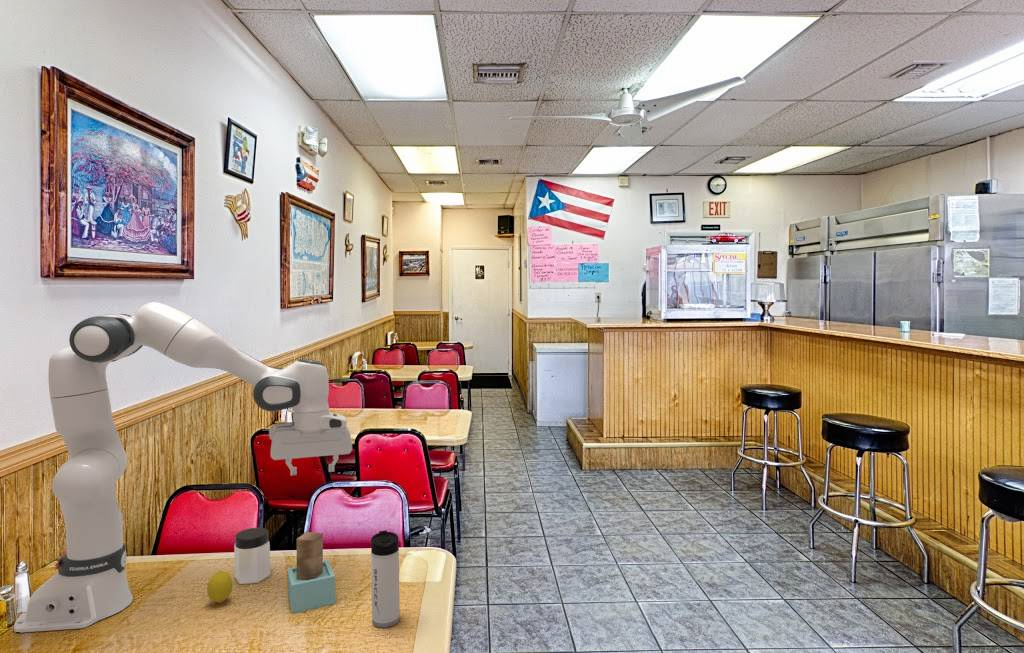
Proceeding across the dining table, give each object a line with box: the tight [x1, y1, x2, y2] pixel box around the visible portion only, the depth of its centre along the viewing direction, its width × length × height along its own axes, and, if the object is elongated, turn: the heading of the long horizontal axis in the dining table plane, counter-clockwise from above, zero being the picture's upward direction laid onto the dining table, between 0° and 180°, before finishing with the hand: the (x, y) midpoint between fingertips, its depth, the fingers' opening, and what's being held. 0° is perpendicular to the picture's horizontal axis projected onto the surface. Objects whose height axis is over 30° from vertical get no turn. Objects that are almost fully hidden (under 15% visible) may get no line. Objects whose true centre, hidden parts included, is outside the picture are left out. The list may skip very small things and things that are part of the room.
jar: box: [233, 527, 271, 585], centre depth 153 cm, size 9×8×12 cm
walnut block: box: [296, 531, 324, 580], centre depth 142 cm, size 4×4×10 cm
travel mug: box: [370, 530, 401, 629], centre depth 132 cm, size 6×7×20 cm
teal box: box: [286, 559, 336, 614], centre depth 142 cm, size 10×10×7 cm
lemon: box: [206, 570, 233, 604], centre depth 140 cm, size 6×6×8 cm
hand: (312, 473), depth 150 cm, fingers open, 8 cm apart
